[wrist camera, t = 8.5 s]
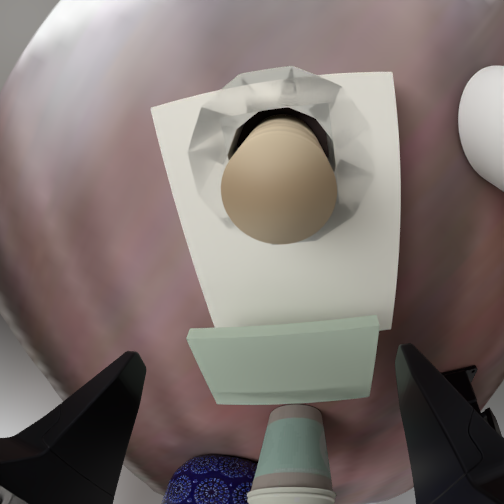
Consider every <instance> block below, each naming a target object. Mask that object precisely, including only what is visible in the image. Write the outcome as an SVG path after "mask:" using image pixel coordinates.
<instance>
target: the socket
mask: <svg viewBox="0 0 504 504" xmlns="http://www.w3.org/2000/svg"><path fill="white" fill-rule="evenodd" d="M286 107H289V108H291V109H294V110H296V111H299V112H301V113H304V114H306V115H309V116H311V117H314V118H315V119H316V120H317V121H318V123H319V124H320V125H321V126H322V128H323V129H324V130H325V132H326V136H327V144H328V152H329V156H328V158H327V159H328V161H329V163H330V165H331V167H332V170H333V172H334V175H335V178H336V183H337V199H336V204H335V207H334V210H333V212H332V214H331V216H330V218H329V220H328V221H327V222H326V223H325V225H324V226H323V227H322V228H321V229H320V230H319V231H318V232H316V233H315V234H314V235H312V236H310V237H308V238H307V239H304V240H302V241H299V242H296V243H291V244H281V245H279V244H269V243H264V242H261V241H258V240H256V239H254V238H251V237H250V236H248V235H246V234H245V233H244V232H242V231H241V230H240V229H239V228H238V227H237V226H236V225H235V224H234V223H233V222H232V221H231V219H230V218H229V216H228V214H227V213H226V210H225V208H224V205H223V202H222V197H221V180H222V176H223V172H224V170H225V167H226V165H227V164H228V162H229V160H230V159H231V157H232V156H233V155H234V154H235V152H236V151H237V150H238V147H237V142H238V140H239V137H240V134H241V131H242V129H243V126H244V123H245V122H246V121H247V120H249V119H250V118H251V117H252V116H253V115H255V114H256V113H257V112H259V111H265V110H271V109H278V108H286ZM151 112H152V117H153V121H154V125H155V129H156V133H157V137H158V141H159V145H160V149H161V153H162V156H163V160H164V164H165V168H166V171H167V175H168V179H169V182H170V186H171V190H172V193H173V197H174V200H175V204H176V207H177V211H178V214H179V218H180V221H181V224H182V228H183V231H184V234H185V238H186V241H187V244H188V248H189V251H190V254H191V257H192V260H193V264H194V267H195V270H196V273H197V276H198V279H199V282H200V285H201V288H202V291H203V294H204V297H205V300H206V303H207V306H208V309H209V312H210V315H211V318H212V321H213V324H214V327H215V328H222V327H244V326H262V325H277V324H290V323H303V322H314V321H325V320H335V319H344V318H354V317H362V316H370V315H377V318H378V322H379V325H380V326H379V331H381V330H389V329H391V325H392V318H393V310H394V302H395V292H396V282H397V271H398V258H399V240H400V210H401V179H400V149H399V132H398V119H397V108H396V99H395V90H394V82H393V75H392V72H359V73H340V74H326V75H315V74H312V73H310V72H307V71H305V70H302V69H299V68H297V67H294V66H286V67H279V68H272V69H265V70H259V71H253V72H248V73H242V74H239V75H238V76H237V77H235V78H234V79H233V80H232V81H231V82H229V83H228V84H227V85H226V86H225V87H223V88H222V89H221V90H218V91H213V92H209V93H205V94H200V95H196V96H192V97H188V98H184V99H180V100H177V101H173V102H169V103H166V104H162V105H159V106H155V107H152V108H151Z"/></svg>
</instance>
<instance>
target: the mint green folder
mask: <svg viewBox="0 0 504 504" xmlns="http://www.w3.org/2000/svg"><path fill="white" fill-rule="evenodd" d="M379 326H380V325H379V322H378V318H377V315H370V316H362V317H354V318H344V319H335V320H325V321H314V322H303V323H290V324H277V325H262V326H244V327H222V328H190V330H189V333H188V335H187V338H186V339H187V341H188V343H189V346H190V348H191V350H192V352H193V355H194V357H195V359H196V361H197V363H198V365H199V368H200V370H201V372H202V374H203V376H204V378H205V380H206V382H207V384H208V387H209V389H210V391H211V393H212V395H213V397H214V399H215V401H216V403H217V404H230V405H269V404H296V403H313V402H326V401H337V400H346V399H355V398H363V397H369V395H370V389H371V383H372V377H373V371H374V364H375V358H376V350H377V343H378V334H379Z"/></svg>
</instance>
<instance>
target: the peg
mask: <svg viewBox="0 0 504 504" xmlns="http://www.w3.org/2000/svg"><path fill="white" fill-rule="evenodd" d="M221 197H222V202H223V205H224V208H225V210H226V213H227V214H228V216H229V218H230V219H231V221H232V222H233V223H234V224H235V225H236V226H237V227H238V228H239V229H240V230H241V231H242V232H244V233H245V234H246V235H248V236H250V237H251V238H254V239H256V240H258V241H261V242H264V243H269V244H279V245H281V244H291V243H296V242H299V241H302V240H304V239H307V238H308V237H310V236H312V235H314V234H315V233H316V232H318V231H319V230H320V229H321V228H322V227H323V226H324V225H325V223H326V222H327V221H328V220H329V218H330V216H331V214H332V212H333V210H334V207H335V204H336V199H337V183H336V178H335V175H334V172H333V170H332V167H331V165H330V163H329V161H328V159H327V157H326V155H325V153H324V151H323V150H322V148H321V146H320V144H319V142H318V140H317V138H316V136H315V134H314V132H313V131H312V129H311V128H310V127H309V126H308V124H306V123H305V122H304V121H303V120H301V119H299V118H297V117H295V116H292V115H286V114H279V115H273V116H270V117H268V118H266V119H264V120H262V121H261V122H260V123H259V124H258V125H257V126H256V127H255V128H254V129H253V131H252V132H251V133H250V134H249V136H248V137H247V138H246V139H245V141H244V142H243V143H242V145H241V146H240V147H239V148H238V150H237V151H236V152H235V154H234V155H233V156H232V157H231V159H230V160H229V162H228V164H227V165H226V167H225V170H224V172H223V176H222V180H221Z"/></svg>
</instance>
